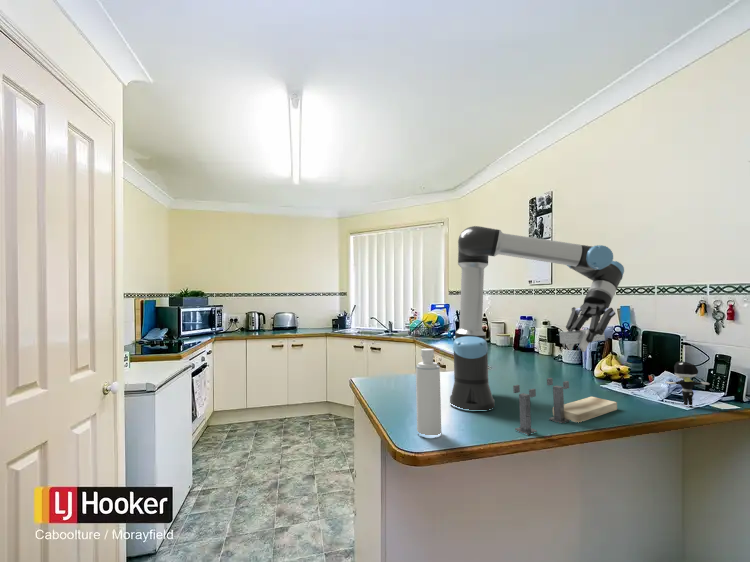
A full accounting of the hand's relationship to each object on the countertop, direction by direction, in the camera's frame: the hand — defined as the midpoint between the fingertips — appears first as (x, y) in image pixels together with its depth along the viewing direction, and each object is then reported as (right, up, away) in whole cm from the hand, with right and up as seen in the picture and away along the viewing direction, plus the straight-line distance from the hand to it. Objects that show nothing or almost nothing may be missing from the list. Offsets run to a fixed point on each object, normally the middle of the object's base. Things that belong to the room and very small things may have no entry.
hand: (575, 348), depth 109 cm
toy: (+42, -21, +6) cm, 47 cm away
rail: (+4, +2, +3) cm, 5 cm away
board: (+4, -21, +1) cm, 22 cm away
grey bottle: (-49, -21, -15) cm, 56 cm away
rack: (-15, -21, -10) cm, 28 cm away
